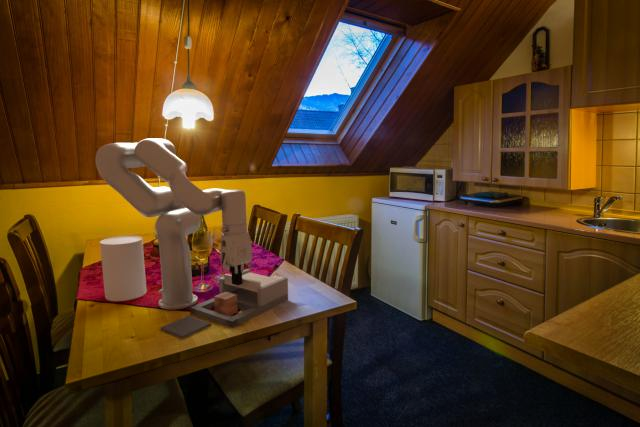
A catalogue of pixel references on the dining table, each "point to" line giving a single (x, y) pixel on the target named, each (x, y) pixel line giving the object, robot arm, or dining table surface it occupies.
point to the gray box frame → (245, 301)
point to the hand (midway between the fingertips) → (237, 283)
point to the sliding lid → (250, 281)
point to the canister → (123, 267)
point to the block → (226, 303)
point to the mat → (185, 326)
